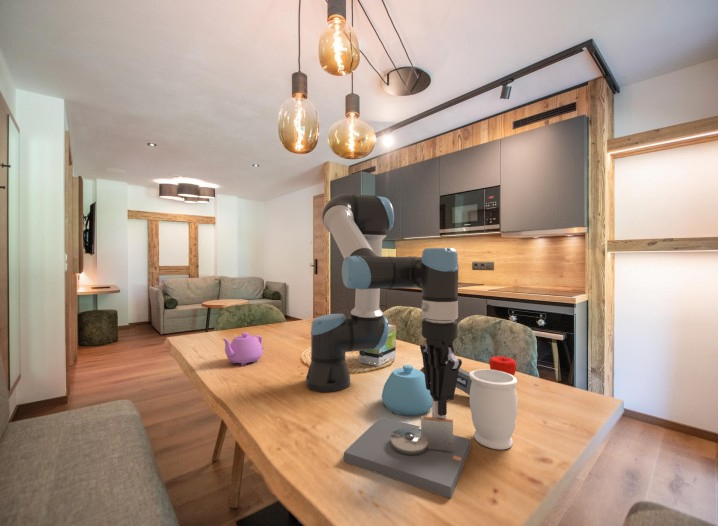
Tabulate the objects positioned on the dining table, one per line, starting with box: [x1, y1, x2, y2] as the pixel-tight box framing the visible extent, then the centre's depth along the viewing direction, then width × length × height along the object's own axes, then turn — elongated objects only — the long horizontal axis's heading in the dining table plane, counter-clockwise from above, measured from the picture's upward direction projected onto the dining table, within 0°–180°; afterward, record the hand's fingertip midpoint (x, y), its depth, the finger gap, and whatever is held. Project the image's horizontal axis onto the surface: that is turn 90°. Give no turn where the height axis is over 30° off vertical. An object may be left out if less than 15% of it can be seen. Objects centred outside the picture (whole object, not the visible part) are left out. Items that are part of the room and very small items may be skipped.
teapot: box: [222, 332, 264, 367], centre depth 136 cm, size 20×14×12 cm
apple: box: [489, 356, 517, 376], centre depth 115 cm, size 9×9×8 cm
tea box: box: [358, 324, 397, 367], centre depth 139 cm, size 15×10×15 cm, turn 147°
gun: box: [420, 366, 472, 396], centre depth 105 cm, size 3×25×15 cm, turn 47°
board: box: [343, 416, 471, 499], centre depth 70 cm, size 22×18×2 cm
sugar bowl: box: [381, 364, 432, 417], centre depth 95 cm, size 15×15×12 cm
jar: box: [469, 368, 519, 451], centre depth 76 cm, size 11×10×15 cm
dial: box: [391, 415, 454, 455], centre depth 70 cm, size 13×8×6 cm, turn 77°
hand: (439, 427), depth 71 cm, fingers closed
